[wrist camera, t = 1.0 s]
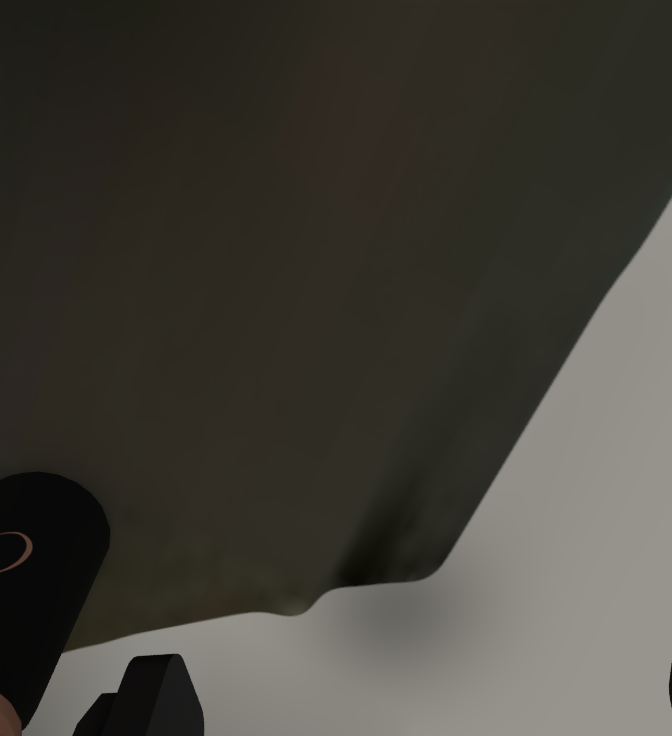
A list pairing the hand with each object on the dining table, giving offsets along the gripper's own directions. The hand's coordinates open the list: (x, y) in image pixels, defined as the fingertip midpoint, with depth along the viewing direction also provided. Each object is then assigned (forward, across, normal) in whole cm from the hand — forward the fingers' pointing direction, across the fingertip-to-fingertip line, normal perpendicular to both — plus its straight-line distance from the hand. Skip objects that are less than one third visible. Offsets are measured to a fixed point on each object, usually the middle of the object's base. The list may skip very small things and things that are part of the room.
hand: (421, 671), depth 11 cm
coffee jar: (+33, +30, +21) cm, 49 cm away
